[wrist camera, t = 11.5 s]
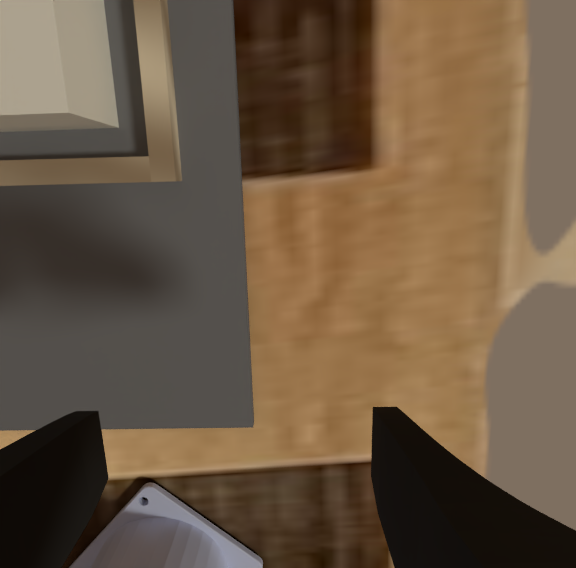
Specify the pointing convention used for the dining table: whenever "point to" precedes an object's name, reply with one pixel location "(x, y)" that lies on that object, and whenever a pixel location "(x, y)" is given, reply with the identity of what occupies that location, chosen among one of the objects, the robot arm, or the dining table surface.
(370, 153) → the dining table surface
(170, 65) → the frame
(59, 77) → the card box
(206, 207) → the mat
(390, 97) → the dining table surface
